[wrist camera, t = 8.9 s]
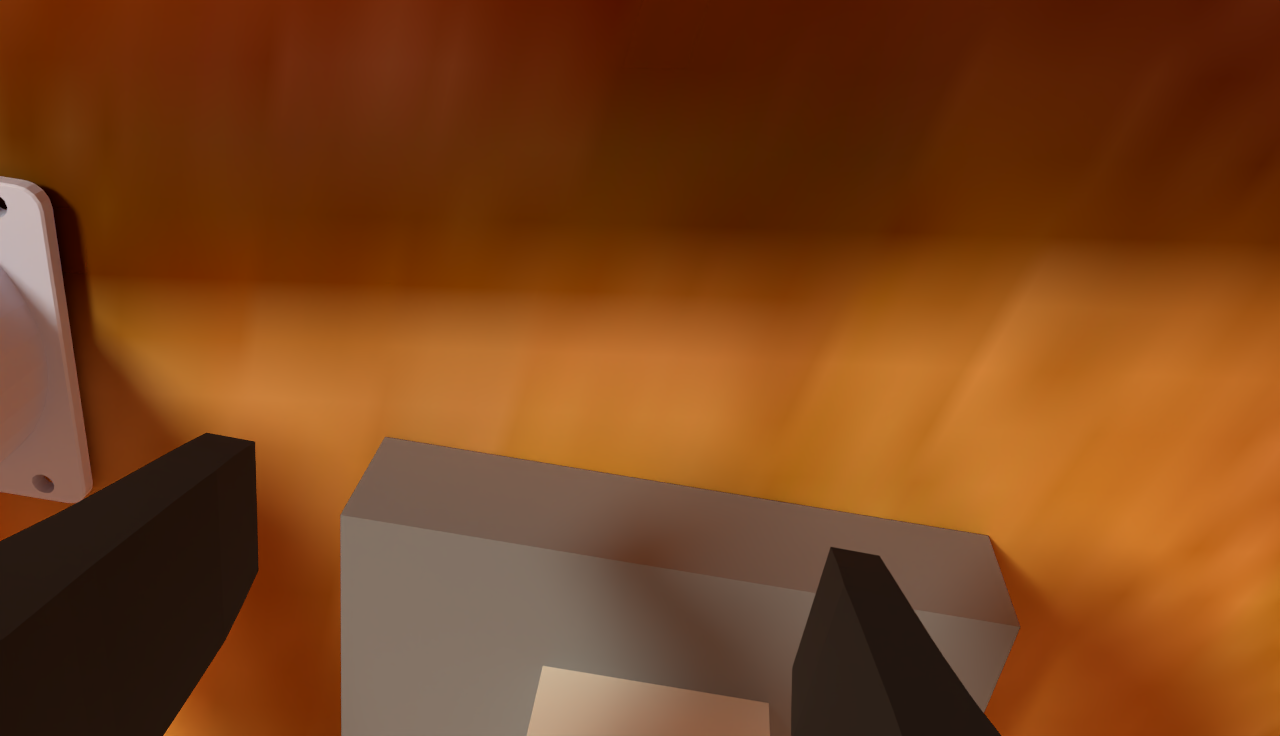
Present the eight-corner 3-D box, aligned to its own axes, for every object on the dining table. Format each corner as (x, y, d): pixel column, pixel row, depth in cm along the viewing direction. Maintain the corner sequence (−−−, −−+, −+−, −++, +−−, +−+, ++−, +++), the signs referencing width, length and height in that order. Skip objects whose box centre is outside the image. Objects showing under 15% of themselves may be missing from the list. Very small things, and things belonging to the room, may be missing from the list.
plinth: (377, 787, 29) (342, 883, 27) (385, 436, 23) (340, 515, 21) (861, 867, 29) (873, 972, 26) (988, 535, 23) (1020, 626, 21)
